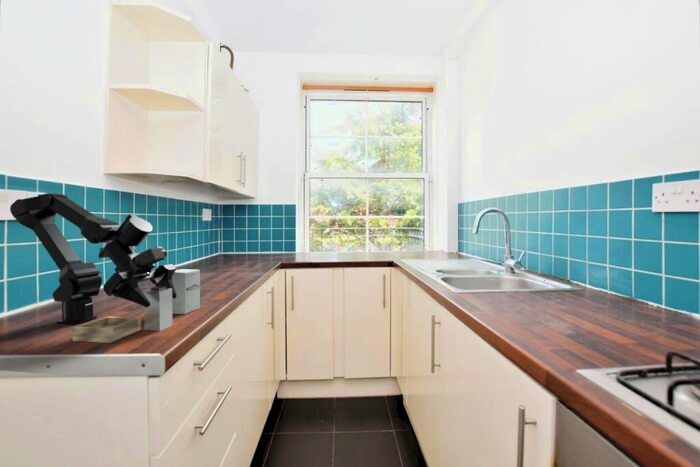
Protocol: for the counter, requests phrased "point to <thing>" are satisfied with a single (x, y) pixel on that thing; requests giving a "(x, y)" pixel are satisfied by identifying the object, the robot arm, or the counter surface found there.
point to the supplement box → (186, 291)
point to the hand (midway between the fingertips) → (162, 301)
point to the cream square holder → (106, 329)
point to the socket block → (158, 308)
